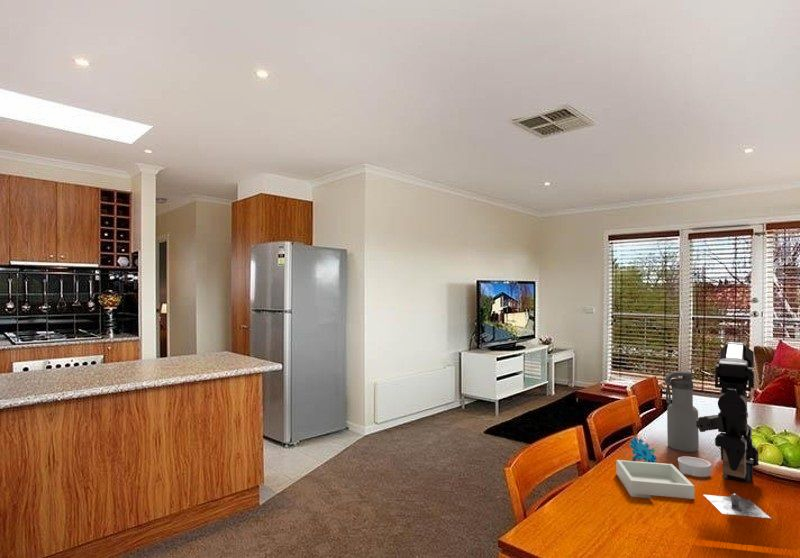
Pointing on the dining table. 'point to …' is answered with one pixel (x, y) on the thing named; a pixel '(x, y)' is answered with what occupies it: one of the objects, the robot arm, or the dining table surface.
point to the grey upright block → (740, 470)
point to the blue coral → (642, 451)
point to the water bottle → (681, 413)
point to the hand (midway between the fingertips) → (734, 467)
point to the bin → (653, 480)
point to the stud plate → (735, 510)
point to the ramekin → (694, 466)
